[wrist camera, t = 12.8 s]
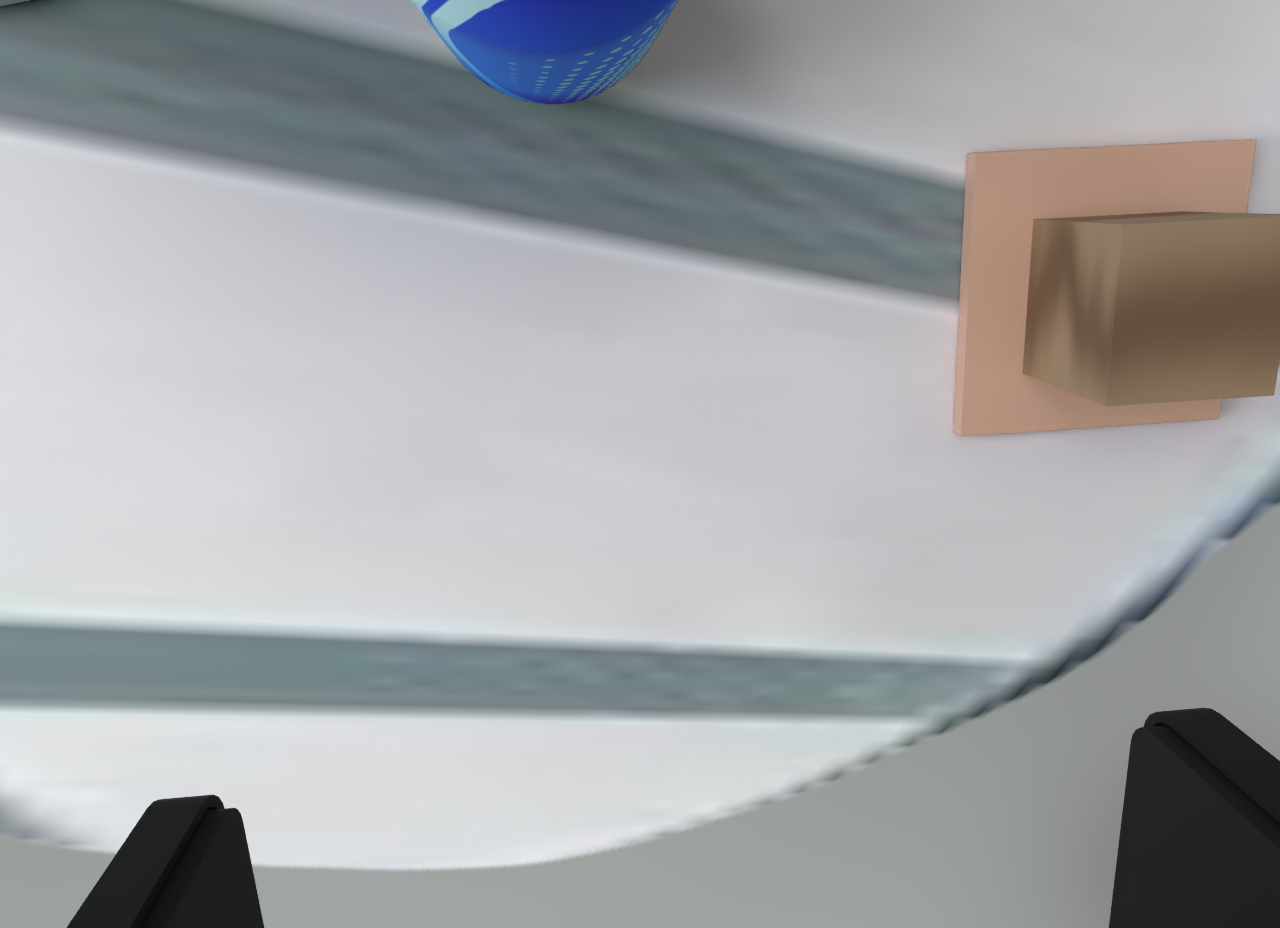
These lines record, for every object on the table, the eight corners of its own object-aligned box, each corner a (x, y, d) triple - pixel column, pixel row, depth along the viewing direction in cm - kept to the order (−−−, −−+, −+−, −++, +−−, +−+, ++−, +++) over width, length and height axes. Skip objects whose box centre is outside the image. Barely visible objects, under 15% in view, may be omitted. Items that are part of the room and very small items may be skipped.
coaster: (966, 153, 35) (975, 152, 35) (1242, 140, 36) (1256, 139, 35) (952, 431, 39) (961, 436, 38) (1205, 414, 39) (1218, 418, 39)
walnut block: (1033, 219, 36) (1123, 224, 30) (1183, 211, 36) (1301, 215, 30) (1022, 373, 37) (1105, 406, 32) (1165, 364, 38) (1274, 395, 32)
